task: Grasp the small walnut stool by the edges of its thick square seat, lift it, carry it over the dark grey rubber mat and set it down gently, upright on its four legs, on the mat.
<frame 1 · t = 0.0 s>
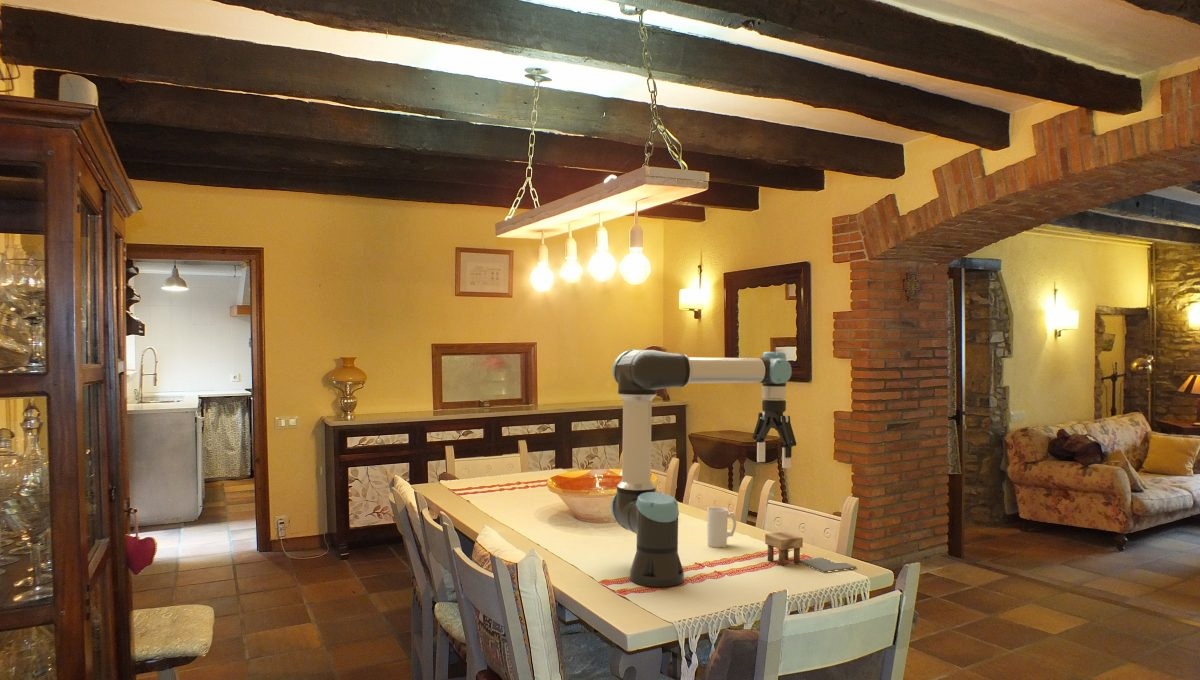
hand: (773, 464, 246), 28 cm above the table, fingers open, 13 cm apart
mug: (721, 545, 253), on the table
mat: (826, 565, 230), on the table
stool: (783, 561, 234), on the table
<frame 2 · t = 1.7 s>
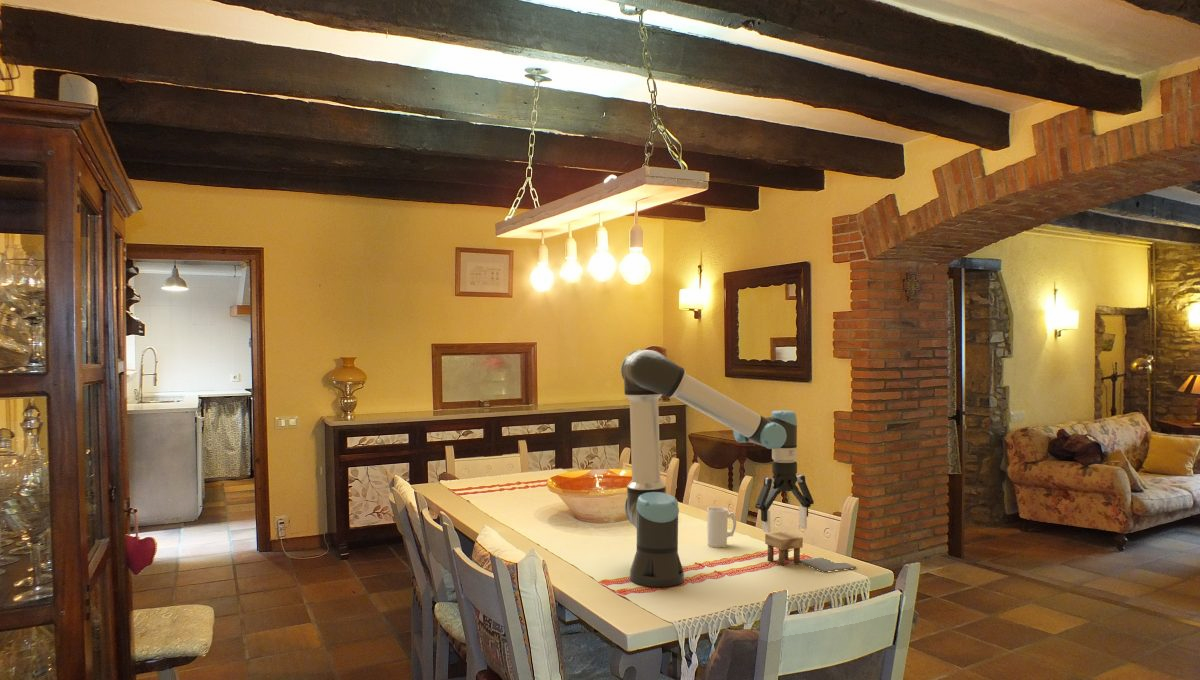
hand: (785, 529, 234), 10 cm above the table, fingers open, 13 cm apart
nothing on the table moved.
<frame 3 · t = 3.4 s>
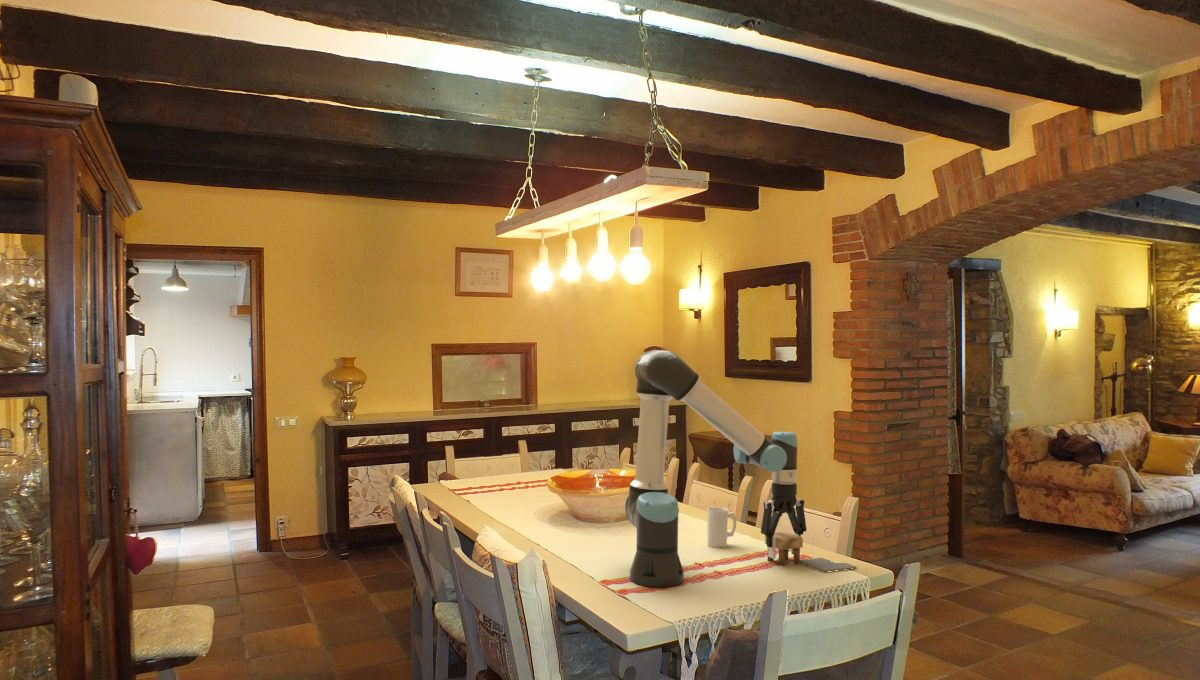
hand: (783, 556, 234), 2 cm above the table, fingers closed on stool, 8 cm apart
stool: (783, 561, 234), on the table, touching gripper
everything else where it was.
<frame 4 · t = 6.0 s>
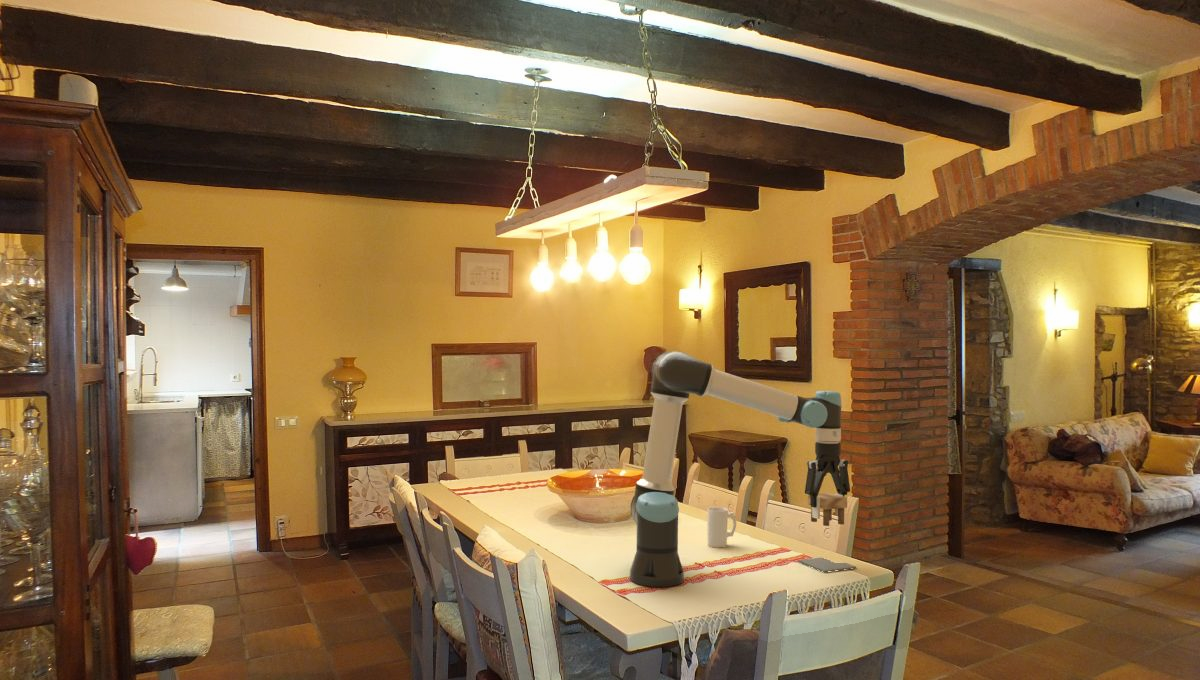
hand: (827, 516, 231), 15 cm above the table, fingers closed on stool, 8 cm apart
stool: (827, 522, 231), point 13 cm above the table, touching gripper
everything else where it was.
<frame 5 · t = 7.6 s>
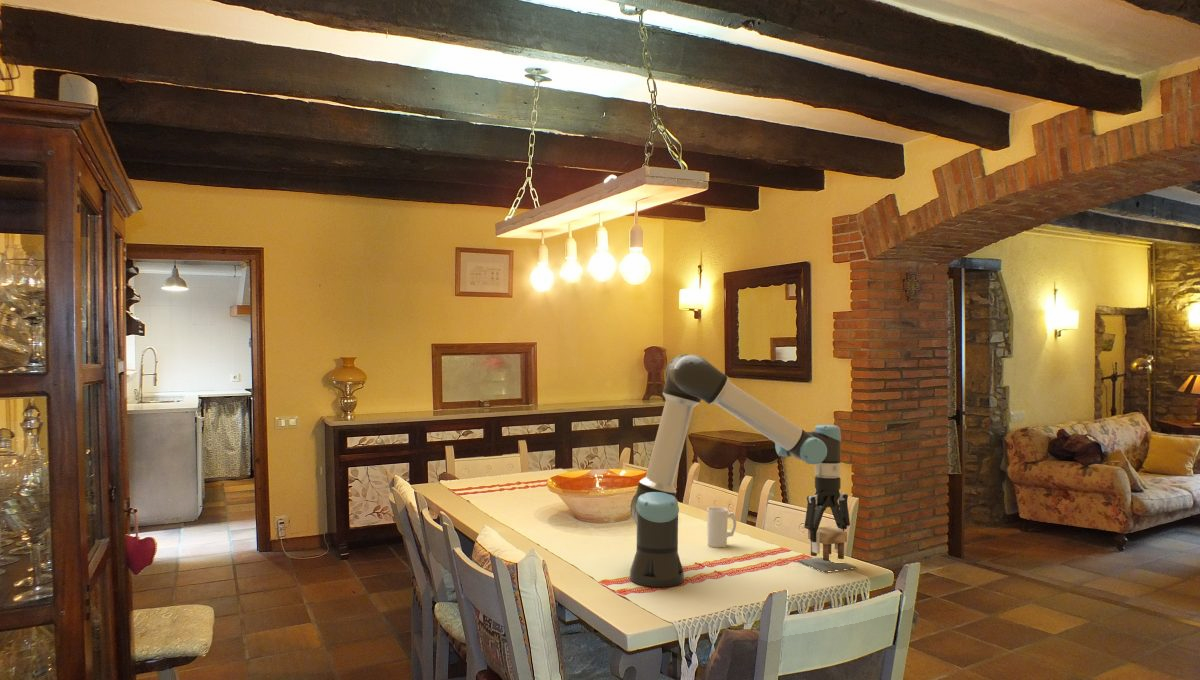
hand: (827, 551, 231), 4 cm above the table, fingers closed on stool, 8 cm apart
stool: (827, 556, 230), point 3 cm above the table, touching gripper
everything else where it was.
when the fingers open (3 cm above the table, at t = 8.7 s): stool stays where it is, resting on mat.
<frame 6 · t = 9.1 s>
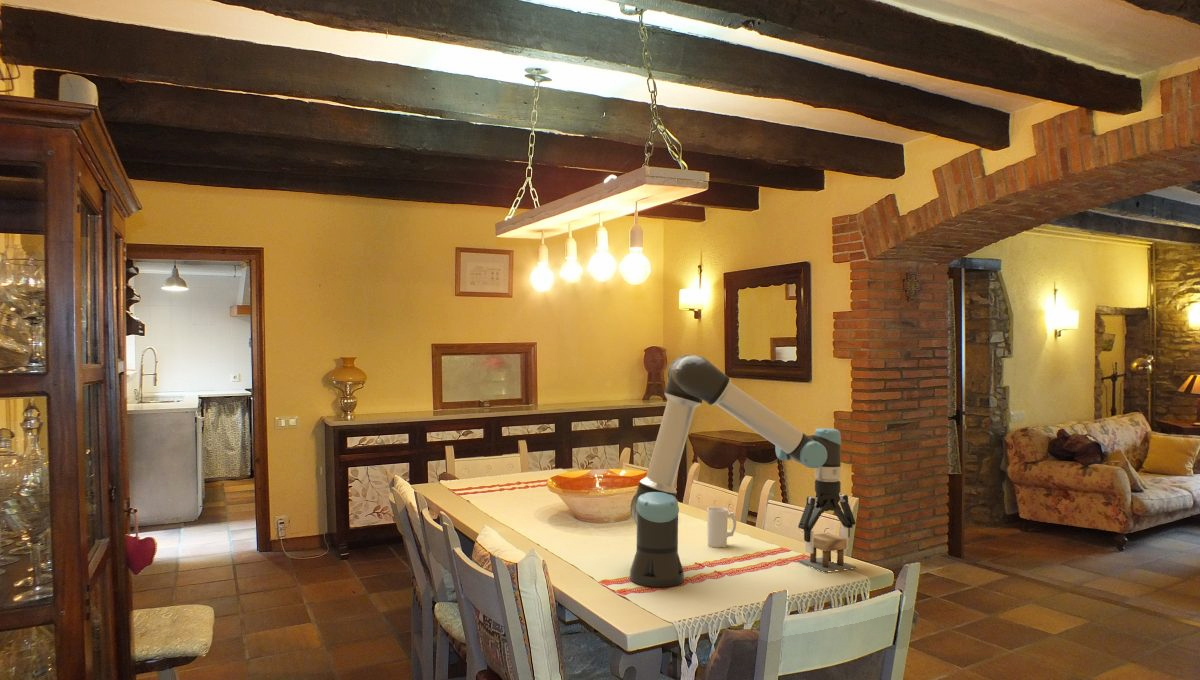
hand: (827, 550, 231), 5 cm above the table, fingers open, 12 cm apart
stool: (826, 563, 230), point 1 cm above the table, touching mat
everything else where it was.
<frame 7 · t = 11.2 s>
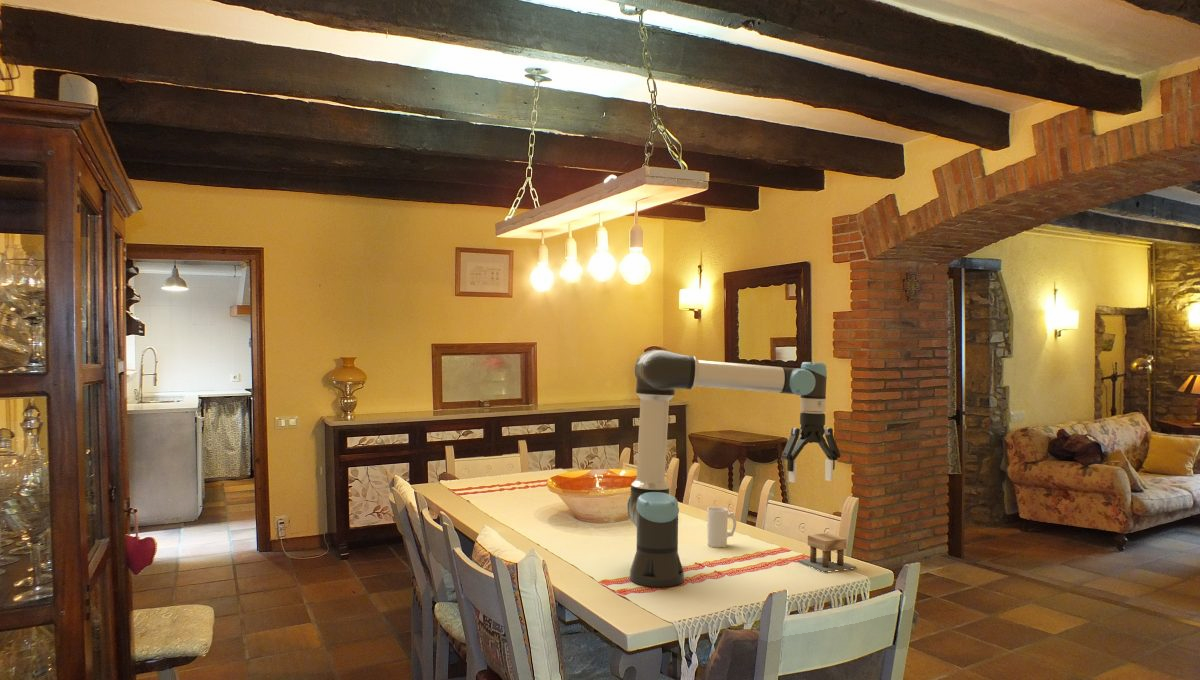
hand: (810, 481, 233), 25 cm above the table, fingers open, 13 cm apart
nothing on the table moved.
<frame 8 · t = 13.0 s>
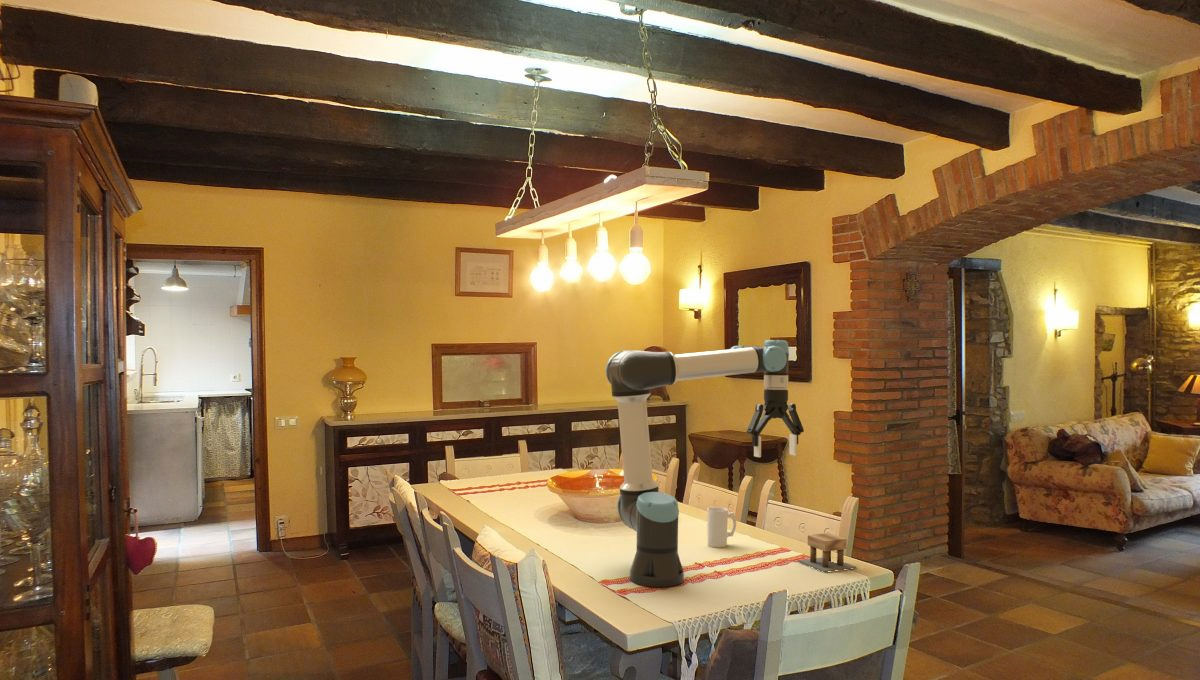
hand: (775, 456, 240), 32 cm above the table, fingers open, 13 cm apart
nothing on the table moved.
at the end: stool inside the target area on the mat (0.1 cm from its centre), point 0.6 cm above the mat's base; stool tilted 0°; the gripper is holding nothing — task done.
